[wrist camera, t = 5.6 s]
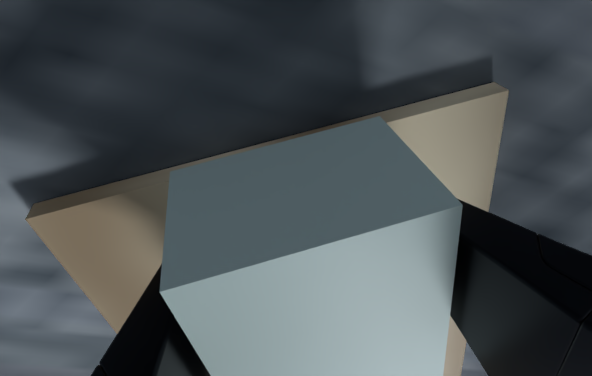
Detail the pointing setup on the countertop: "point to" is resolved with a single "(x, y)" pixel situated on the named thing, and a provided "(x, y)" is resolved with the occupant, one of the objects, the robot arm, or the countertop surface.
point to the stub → (313, 257)
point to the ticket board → (154, 186)
